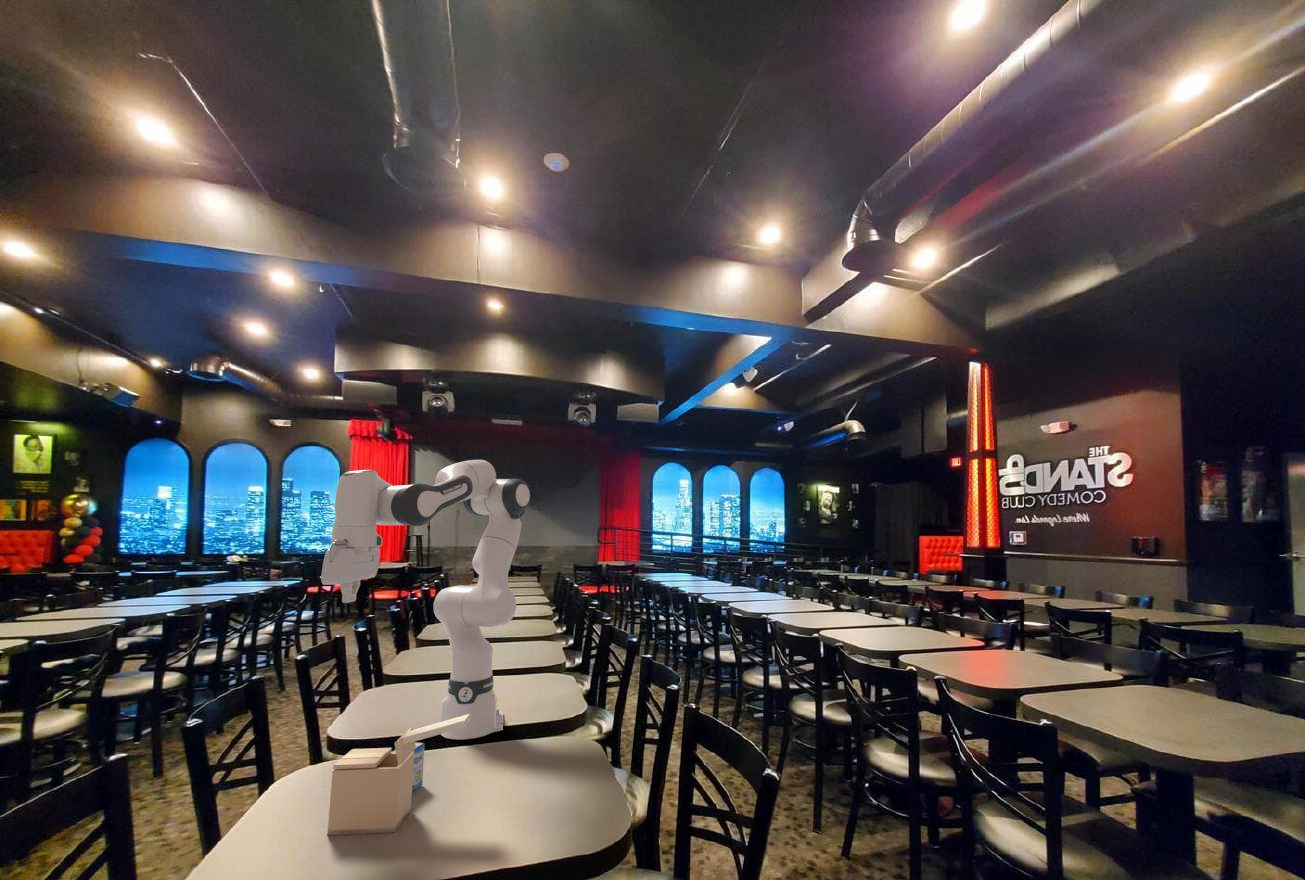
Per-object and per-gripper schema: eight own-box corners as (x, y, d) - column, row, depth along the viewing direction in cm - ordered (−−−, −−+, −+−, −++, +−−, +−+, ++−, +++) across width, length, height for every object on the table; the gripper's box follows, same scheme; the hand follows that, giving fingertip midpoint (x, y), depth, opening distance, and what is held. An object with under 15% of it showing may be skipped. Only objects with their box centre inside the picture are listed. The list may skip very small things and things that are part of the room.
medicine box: (399, 802, 112) (402, 756, 113) (380, 800, 113) (383, 755, 114) (422, 785, 120) (425, 742, 121) (404, 783, 120) (407, 741, 122)
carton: (347, 813, 108) (352, 748, 110) (410, 810, 109) (414, 745, 111) (327, 835, 100) (333, 764, 102) (395, 831, 101) (399, 762, 103)
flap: (408, 728, 111) (471, 710, 112) (412, 749, 110) (475, 731, 112) (394, 742, 103) (462, 723, 105) (398, 764, 103) (466, 745, 104)
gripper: (347, 540, 116) (341, 608, 113) (385, 538, 136) (381, 596, 133) (315, 540, 115) (309, 608, 113) (359, 539, 135) (354, 596, 133)
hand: (348, 601), depth 123 cm, fingers closed
